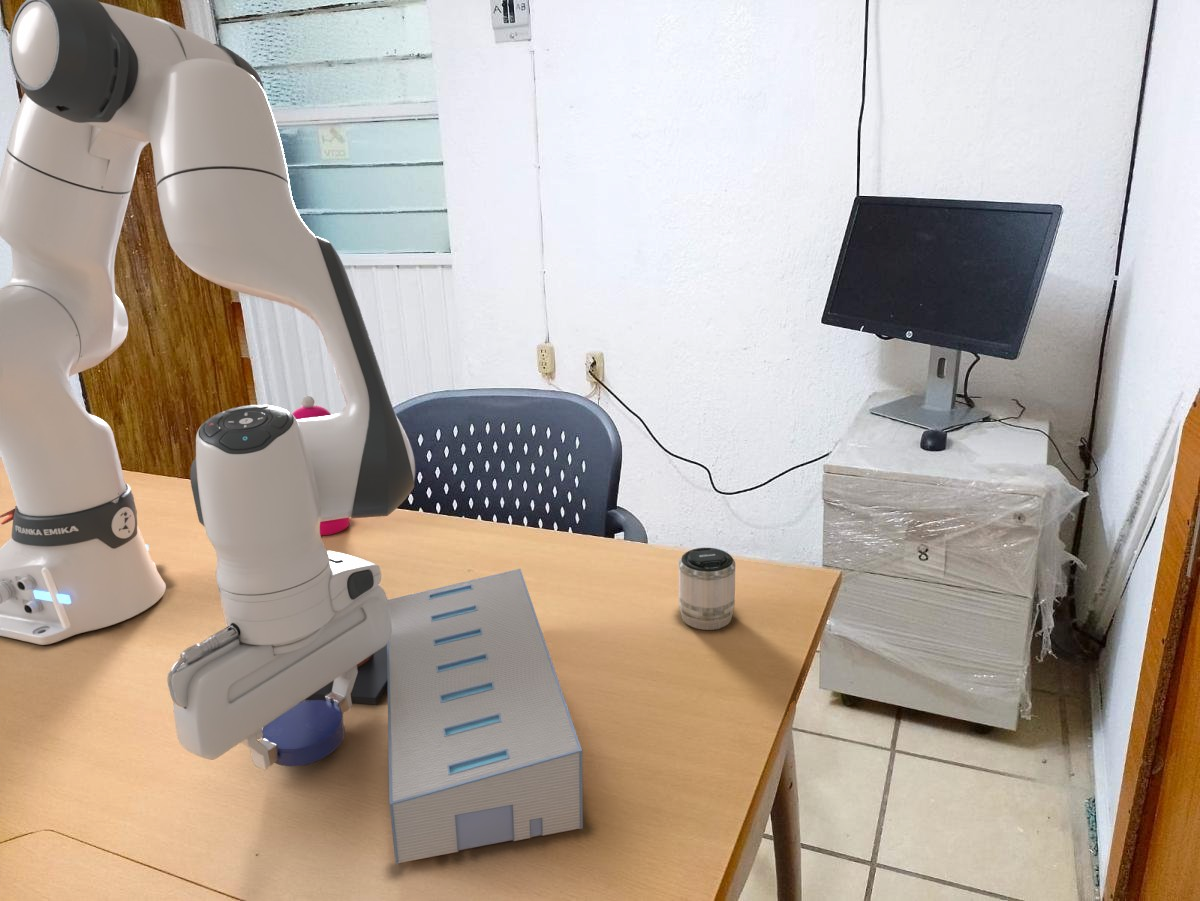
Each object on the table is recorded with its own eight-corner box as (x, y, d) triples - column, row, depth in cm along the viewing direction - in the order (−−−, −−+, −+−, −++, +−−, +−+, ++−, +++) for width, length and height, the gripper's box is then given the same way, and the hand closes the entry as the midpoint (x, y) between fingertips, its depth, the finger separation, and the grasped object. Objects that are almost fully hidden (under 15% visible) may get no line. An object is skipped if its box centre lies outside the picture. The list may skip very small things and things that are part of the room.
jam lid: (299, 777, 70) (295, 760, 69) (247, 750, 73) (244, 733, 73) (361, 730, 75) (358, 714, 75) (310, 707, 79) (307, 691, 78)
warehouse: (390, 646, 89) (384, 584, 87) (522, 629, 93) (520, 568, 90) (395, 864, 62) (387, 783, 59) (582, 828, 65) (582, 750, 63)
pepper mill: (338, 538, 118) (317, 403, 111) (292, 536, 119) (268, 402, 112) (361, 518, 124) (343, 389, 118) (317, 515, 126) (297, 388, 119)
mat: (254, 696, 83) (252, 689, 83) (315, 627, 95) (314, 621, 95) (376, 704, 81) (375, 698, 81) (423, 633, 93) (422, 627, 93)
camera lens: (742, 627, 92) (744, 564, 89) (688, 635, 91) (688, 571, 88) (723, 600, 98) (724, 539, 95) (672, 607, 97) (671, 546, 94)
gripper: (188, 674, 60) (224, 825, 64) (393, 559, 76) (410, 686, 81) (139, 650, 63) (176, 796, 68) (346, 545, 79) (365, 668, 84)
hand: (305, 735), depth 74 cm, fingers closed on jam lid, 7 cm apart
